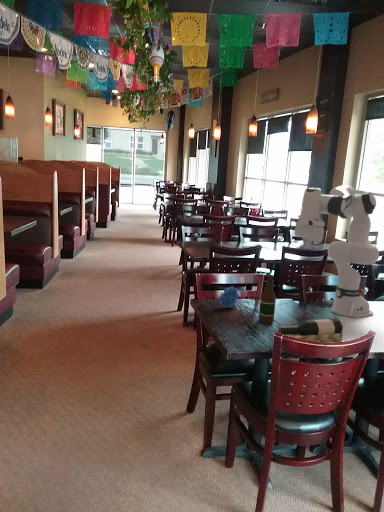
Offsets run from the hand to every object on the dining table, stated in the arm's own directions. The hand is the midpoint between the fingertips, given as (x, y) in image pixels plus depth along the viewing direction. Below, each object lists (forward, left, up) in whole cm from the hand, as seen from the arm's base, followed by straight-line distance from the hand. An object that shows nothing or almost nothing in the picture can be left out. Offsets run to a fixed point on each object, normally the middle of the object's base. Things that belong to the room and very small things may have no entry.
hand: (306, 247), depth 214 cm
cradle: (+10, +28, -37) cm, 47 cm away
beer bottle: (+22, +6, -37) cm, 43 cm away
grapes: (+33, -18, -37) cm, 53 cm away
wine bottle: (-3, +28, -32) cm, 43 cm away
